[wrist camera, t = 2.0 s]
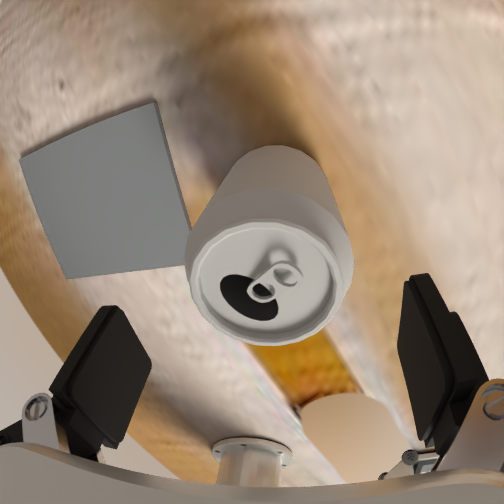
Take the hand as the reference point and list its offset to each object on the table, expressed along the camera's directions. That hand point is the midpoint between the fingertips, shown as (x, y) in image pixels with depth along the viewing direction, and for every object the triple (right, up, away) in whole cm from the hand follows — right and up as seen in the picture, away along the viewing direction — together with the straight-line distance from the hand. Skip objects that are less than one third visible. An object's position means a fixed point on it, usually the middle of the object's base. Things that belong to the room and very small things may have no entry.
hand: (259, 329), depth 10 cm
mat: (-13, +7, +15) cm, 21 cm away
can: (+2, +7, +13) cm, 15 cm away
